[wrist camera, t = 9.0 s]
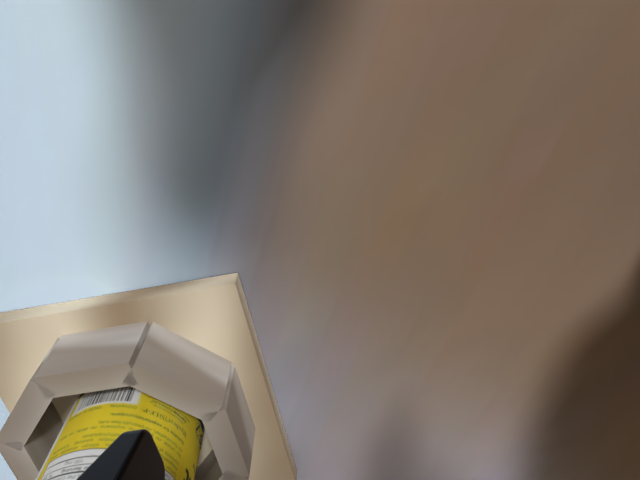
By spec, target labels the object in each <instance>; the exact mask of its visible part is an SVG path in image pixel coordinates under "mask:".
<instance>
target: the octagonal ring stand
mask: <svg viewBox="0 0 640 480" xmlns="http://www.w3.org/2000/svg"><path fill="white" fill-rule="evenodd" d="M127 386H131V387H133V388H135V389H137V390H139V391H142V392H144V393H146V394H148V395H150V396H152V397H154V398H156V399H158V400H161V401H163V402H165V403H167V404H169V405H171V406H173V407H175V408H177V409H180V410H182V411H184V412H186V413H188V414H190V415H192V416H194V417H196V418H199V419H201V420H202V422H203V424H204V427H205V429H204V435H203V441H202V446H201V450H200V454H199V459H198V464H197V468H196V472H195V477H194V480H296V478H297V469H296V466H295V463H294V459H293V456H292V453H291V449H290V446H289V443H288V439H287V436H286V433H285V429H284V426H283V423H282V419H281V416H280V412H279V409H278V406H277V402H276V399H275V396H274V392H273V389H272V386H271V382H270V379H269V376H268V372H267V369H266V366H265V362H264V359H263V355H262V352H261V349H260V345H259V342H258V339H257V335H256V332H255V329H254V325H253V322H252V319H251V315H250V312H249V309H248V305H247V302H246V298H245V295H244V292H243V288H242V285H241V282H240V278H239V275H238V273H233V274H227V275H221V276H215V277H209V278H203V279H197V280H192V281H186V282H180V283H174V284H168V285H162V286H156V287H150V288H144V289H138V290H132V291H127V292H121V293H115V294H109V295H103V296H97V297H91V298H85V299H79V300H73V301H67V302H62V303H56V304H50V305H44V306H38V307H32V308H26V309H20V310H14V311H8V312H3V313H0V397H1V399H2V400H3V402H4V404H5V405H6V407H7V409H8V411H9V412H10V416H9V417H8V419H7V421H6V423H5V424H4V426H3V428H2V429H1V431H0V452H1V454H2V456H3V457H4V459H5V460H6V462H7V464H8V465H9V467H10V469H11V470H12V472H13V473H14V475H15V477H16V478H17V480H35V479H36V477H37V475H38V473H39V471H40V469H41V468H42V466H43V464H44V462H45V460H46V458H47V456H48V454H49V452H50V450H51V448H52V446H53V444H54V442H55V440H56V438H57V436H58V434H59V432H60V430H61V428H62V426H63V424H64V423H65V421H66V419H67V416H68V415H69V413H70V411H71V409H72V407H73V405H74V403H75V401H76V399H77V397H78V395H79V394H82V393H88V392H95V391H101V390H108V389H114V388H120V387H127Z"/></svg>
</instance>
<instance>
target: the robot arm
mask: <svg viewBox="0 0 640 480" xmlns="http://www.w3.org/2000/svg"><path fill="white" fill-rule="evenodd" d="M76 480H165V466H164V462H163V460H162V457H161V455H160V453H159V451H158V448H157V446H156V444H155V442H154V439H153V437H152V435H151V433H150V432H149V431H148V430H146V429H140V430H133V431H127V432H124V433H122V434H121V435H120V436H119V437H118V438H117V439H116V440H115V441H114V442H113V443H112V444H111V445H110V446H109V447H108V448H107V449H106V450H105V451H104V452H103V453H102V454H101V455H100V456H99V457H98V458H97V459H96V460H95V461H94V462H93V463H92V464H91V465H90V466H89V467H88V468H87V469H86V470H85V471H84V472H83V473H82V474H81V475H80V476H79V477H78V478H77V479H76Z"/></svg>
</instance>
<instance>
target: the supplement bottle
mask: <svg viewBox="0 0 640 480" xmlns="http://www.w3.org/2000/svg"><path fill="white" fill-rule="evenodd" d="M140 429H146V430H148V431H149V432H150V433H151V435H152V437H153V439H154V442H155V444H156V446H157V448H158V451H159V453H160V455H161V457H162V460H163V462H164V466H165V480H194V477H195V472H196V468H197V464H198V459H199V454H200V450H201V446H202V441H203V435H204V429H205V427H204V424H203V422H202V420H201V419H199V418H196V417H194V416H192V415H190V414H188V413H186V412H184V411H182V410H180V409H177V408H175V407H173V406H171V405H169V404H167V403H165V402H163V401H161V400H158V399H156V398H154V397H152V396H150V395H148V394H146V393H144V392H142V391H139V390H137V389H135V388H133V387H131V386H127V387H120V388H114V389H108V390H101V391H95V392H88V393H82V394H79V395H78V397H77V399H76V401H75V403H74V405H73V407H72V409H71V411H70V413H69V415H68V416H67V419H66V421H65V423H64V424H63V426H62V428H61V430H60V432H59V434H58V436H57V438H56V440H55V442H54V444H53V446H52V448H51V450H50V452H49V454H48V456H47V458H46V460H45V462H44V464H43V466H42V468H41V469H40V471H39V473H38V475H37V477H36V479H35V480H76V479H77V478H78V477H79V476H80V475H81V474H82V473H83V472H84V471H85V470H86V469H87V468H88V467H89V466H90V465H91V464H92V463H93V462H94V461H95V460H96V459H97V458H98V457H99V456H100V455H101V454H102V453H103V452H104V451H105V450H106V449H107V448H108V447H109V446H110V445H111V444H112V443H113V442H114V441H115V440H116V439H117V438H118V437H119V436H120V435H121V434H122V433H124V432H127V431H133V430H140Z"/></svg>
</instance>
